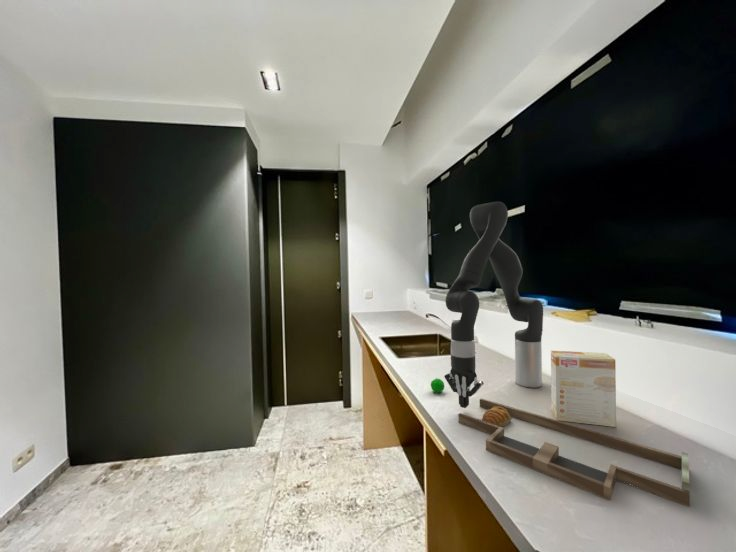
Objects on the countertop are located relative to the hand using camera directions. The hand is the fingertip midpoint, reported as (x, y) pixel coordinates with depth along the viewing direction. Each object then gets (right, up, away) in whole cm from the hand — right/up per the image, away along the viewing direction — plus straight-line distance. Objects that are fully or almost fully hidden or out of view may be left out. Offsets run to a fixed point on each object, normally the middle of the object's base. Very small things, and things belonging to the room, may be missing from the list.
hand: (463, 406), depth 100 cm
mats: (+12, -2, -26) cm, 29 cm away
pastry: (+7, -2, -7) cm, 10 cm away
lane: (+16, -2, -21) cm, 27 cm away
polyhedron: (-5, -1, +16) cm, 17 cm away
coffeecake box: (+33, -1, -6) cm, 34 cm away
